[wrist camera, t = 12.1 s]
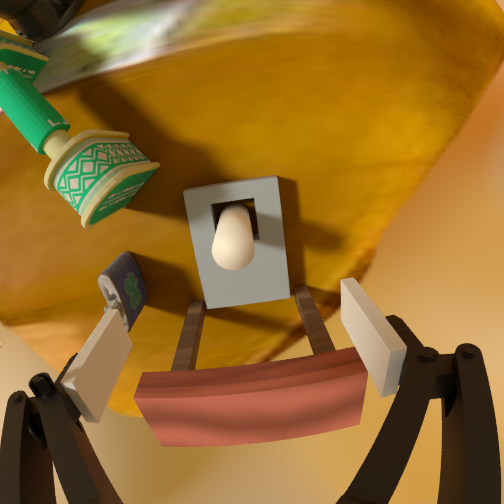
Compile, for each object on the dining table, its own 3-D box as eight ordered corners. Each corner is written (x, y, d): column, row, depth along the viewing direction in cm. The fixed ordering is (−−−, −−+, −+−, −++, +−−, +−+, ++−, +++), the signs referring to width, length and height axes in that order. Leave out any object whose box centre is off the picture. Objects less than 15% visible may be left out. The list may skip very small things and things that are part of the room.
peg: (218, 205, 40) (208, 233, 27) (247, 200, 40) (251, 226, 27) (223, 233, 42) (216, 273, 29) (251, 228, 42) (257, 267, 29)
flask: (118, 252, 42) (88, 281, 32) (135, 248, 42) (107, 278, 32) (136, 305, 45) (113, 343, 35) (152, 303, 45) (132, 342, 35)
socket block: (187, 188, 39) (182, 191, 37) (274, 175, 39) (277, 177, 36) (209, 299, 45) (207, 309, 42) (287, 288, 45) (290, 297, 42)
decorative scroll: (161, 164, 38) (119, 174, 24) (124, 208, 40) (73, 238, 26) (32, 41, 29) (-22, 23, 15) (5, 80, 31) (-51, 73, 17)
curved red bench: (183, 272, 43) (133, 398, 20) (304, 255, 43) (368, 371, 20) (193, 312, 46) (162, 446, 22) (307, 296, 46) (359, 424, 22)
